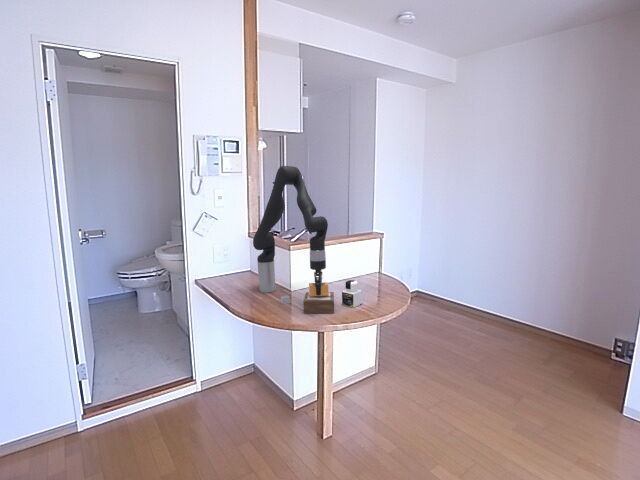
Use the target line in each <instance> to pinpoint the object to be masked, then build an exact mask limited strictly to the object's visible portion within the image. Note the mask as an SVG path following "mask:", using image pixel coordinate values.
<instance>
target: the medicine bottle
mask: <svg viewBox="0 0 640 480" xmlns="http://www.w3.org/2000/svg"><path fill="white" fill-rule="evenodd" d="M362 295H363V293H362V289H359V284H358V281H357V280H354V279H351V280H346V281H345V290H342V291H341V302H342V304H341V305H343V306H345V307H349V308H356V307H358V306H360V304H361V305H362V304H363V299H362V297H363V296H362Z"/></svg>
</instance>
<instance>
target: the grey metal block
mask: <svg viewBox="0 0 640 480" xmlns="http://www.w3.org/2000/svg"><path fill="white" fill-rule="evenodd" d="M280 303H281V305H286V304H287V303H288V304H291V298H290V296H289V295H283V296H280Z"/></svg>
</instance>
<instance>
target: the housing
mask: <svg viewBox="0 0 640 480" xmlns="http://www.w3.org/2000/svg"><path fill="white" fill-rule="evenodd" d="M317 285H320V284H319V283H317ZM308 290H309V291H308V292H309V294H310V296H326V295H329V293H328V292H329V284H328V281H327V282H324V281H322V283H321V295H316V287H315V282H309V283H308Z"/></svg>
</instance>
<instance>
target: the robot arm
mask: <svg viewBox="0 0 640 480" xmlns="http://www.w3.org/2000/svg"><path fill="white" fill-rule="evenodd" d="M273 182H274V183H273V187H272V189H271V193H270V196H269V199H268V202H267V205H266V206H265V210H264V212H263V216H262V218H261V221H260V223H259V226H258V227H257V229H256V231H255V234H254V235H253V236H254V237H253V239H252V245H253V247H254V249H255V250H257V251H262V252H261V253H260V254H259V255H257V276H258V291H259V293H263V294H264V293H265V294H266V293H273V292H275V291H276V274H275V273H276V272H275V255H276V249H275V248H276V242H275V240H276V239H275V237H274V235H273V233H272V232H270V231H271V230H272V229H273V228H274V227H275V226H276V224H277V223H279V221H280V220H281V218H282V216H283V213H284V211H285V208H286V207H285V206H286V205H285V200H284V197H283V194H284V193H283V191H284V189H285V186H286V185H287V186H294V188H295V189H296V193H297V194H296V195H297V196H296V205H297V206H298V209H299V210H300V212H301V215H302V217H303V223H304V226H305V229H306V231H308V232H309V233H316V234H315V235H314V236H311V238H310V239H309V269H311V270H314V272H313V277H314V283H315V287H316V295H321V283H323V270H325V269H326V267H327V261H326V260H327V259H326V258H327V256H326V244H325V243H326V237H327V232H328V226H329V223H328V220H327V219H326V217H325V216H322V215H321V216H320V215H319V216H315V215H316V214H317V211H318V210H317V207H316V206H315V204H314V202H313V200H312V199H311V197H310V195H309V193H308V190H307V187H306V184H305V181H304V179H303V176H302V173H301V171H300V169H299V168H298V167H297V166H293V165H281V166H279V167H278V169H277V171H276V174H275V178H274V181H273ZM317 283H319V284H320V285H317Z"/></svg>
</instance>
